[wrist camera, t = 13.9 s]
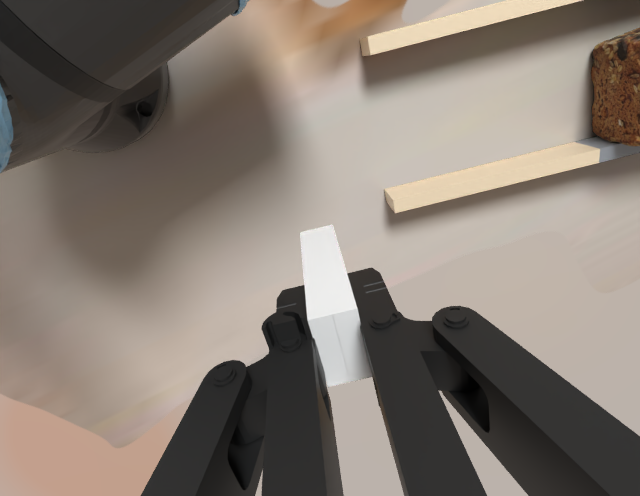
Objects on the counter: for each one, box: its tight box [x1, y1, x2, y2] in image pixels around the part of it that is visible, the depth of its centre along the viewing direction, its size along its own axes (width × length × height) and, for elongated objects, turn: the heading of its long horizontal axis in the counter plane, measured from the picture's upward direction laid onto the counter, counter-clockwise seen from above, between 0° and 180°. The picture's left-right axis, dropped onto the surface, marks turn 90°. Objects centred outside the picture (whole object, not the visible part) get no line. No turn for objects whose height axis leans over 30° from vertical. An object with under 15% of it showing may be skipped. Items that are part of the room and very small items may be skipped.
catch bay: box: [360, 0, 640, 213], centre depth 39 cm, size 17×46×4 cm, turn 103°
